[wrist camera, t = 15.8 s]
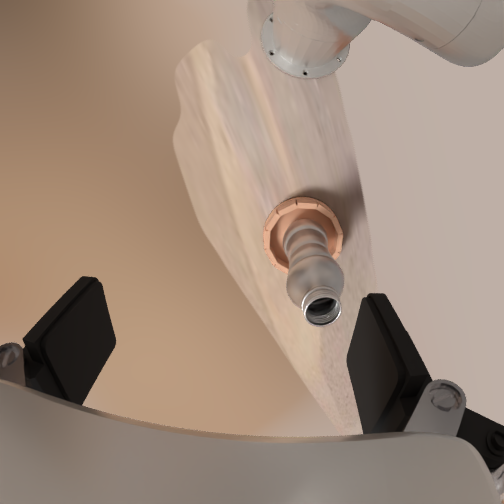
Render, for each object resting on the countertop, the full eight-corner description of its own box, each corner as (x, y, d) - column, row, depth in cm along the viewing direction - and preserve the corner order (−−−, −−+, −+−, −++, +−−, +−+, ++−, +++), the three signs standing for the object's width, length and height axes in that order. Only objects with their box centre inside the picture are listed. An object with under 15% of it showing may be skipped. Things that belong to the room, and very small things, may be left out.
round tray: (265, 194, 45) (264, 199, 42) (343, 199, 45) (348, 204, 42) (261, 267, 50) (261, 275, 47) (334, 270, 49) (337, 279, 47)
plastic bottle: (333, 234, 46) (369, 308, 28) (301, 263, 48) (318, 348, 30) (304, 205, 44) (328, 267, 26) (272, 236, 47) (273, 314, 28)
